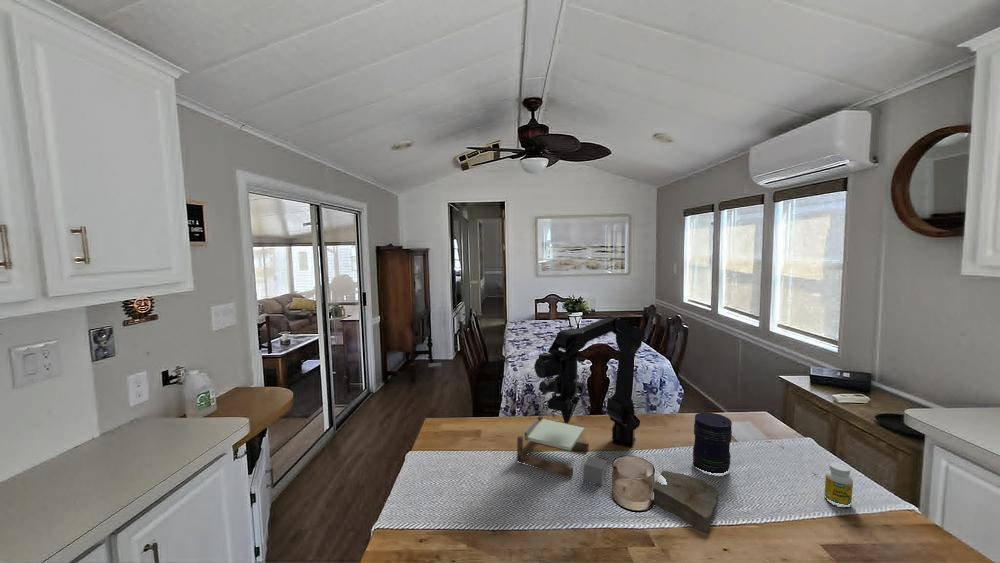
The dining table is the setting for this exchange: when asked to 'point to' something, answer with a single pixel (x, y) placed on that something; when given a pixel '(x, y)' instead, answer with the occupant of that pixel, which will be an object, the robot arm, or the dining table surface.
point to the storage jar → (712, 442)
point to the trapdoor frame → (543, 463)
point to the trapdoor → (554, 434)
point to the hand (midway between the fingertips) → (566, 422)
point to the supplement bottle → (838, 484)
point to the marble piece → (687, 499)
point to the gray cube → (595, 470)
